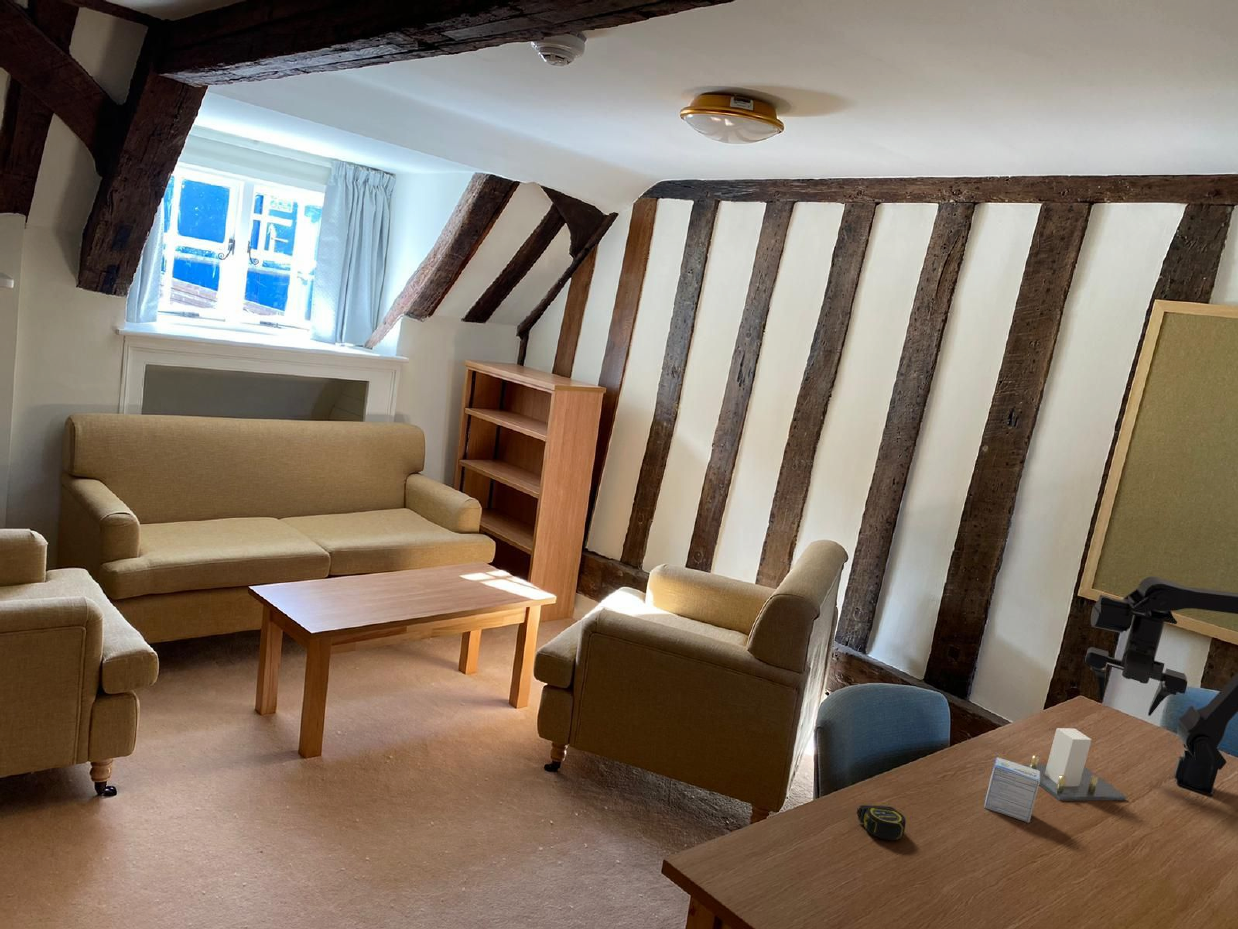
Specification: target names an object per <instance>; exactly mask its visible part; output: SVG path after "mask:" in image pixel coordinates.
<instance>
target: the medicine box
mask: <svg viewBox="0 0 1238 929" xmlns="http://www.w3.org/2000/svg"><path fill="white" fill-rule="evenodd" d="M1023 765H1024V764H1020V763H1017V762H1013V761H1011V760H1008V759H1004V758H1001V757H999V756H998V757H995V760H994V765H993V768H992V772H991V776H990V779H989V783H988V789H987V792H986V795H985V796H986V797H985V801H984V806H983V808H984V809H988V810H990V811H992V812H995V813H999V814H1002V815H1004V816H1008V817H1011V818H1014V819H1018V820H1020V821H1023V822H1026V823H1030V822H1031V817H1032V813H1033V810H1034V805H1035V802H1036V798H1037V793H1038V790H1039V786H1040V785H1039V784H1040V771H1039V770H1035V769H1032V768H1029V767H1026V766H1023Z"/></svg>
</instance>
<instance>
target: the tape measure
mask: <svg viewBox="0 0 1238 929" xmlns="http://www.w3.org/2000/svg"><path fill="white" fill-rule="evenodd" d="M856 814H857V819H858V821H859V822H860V823H861V824H863V826H864V828H865V830H866V831H867V832H868V833H870V834H871V835H872V836H874V837H877V838H879V839H883V840H886V841H887V840H888V841H896V840H900V839H902V837H903V835H904V832H905V829H906V824H907V823H906V822H907V821H906V817H905V816H904V815H903V814H902V813H901V812H900V811H898V810H897V809H896V808H894V807H892V806H886V805H868V804H867V805H866V804H864V805H860V806H859V807H857V809H856Z"/></svg>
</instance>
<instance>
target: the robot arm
mask: <svg viewBox="0 0 1238 929" xmlns="http://www.w3.org/2000/svg"><path fill="white" fill-rule="evenodd" d="M1187 609H1189V610H1190V609H1195V610H1203V611H1210V612H1219V613H1226V614H1235V615H1238V592H1233V591H1223V590H1215V589H1209V588H1208V589H1207V588H1200V587H1199V588H1198V587H1190V586H1186V585H1183V584H1180V583H1178V582H1176V581H1172V580H1168V579H1165V578H1162V577H1158V576H1148V577H1146V578H1144V579H1142V580H1141V581H1140V582H1139V584H1138V586H1137V588H1135V589H1134V590H1133V591H1131V592H1130V593H1129V594H1127V595H1126V596H1125V597H1123V599H1119V598H1113V597H1110V596H1108V595H1104V594H1100V595H1099V597H1098V599H1097V600H1096V602H1095V603H1094V605H1093V606H1092V609H1091V612H1090V613H1091V614H1090V625H1091V627H1092V628H1098V629H1102V630H1107V631H1112V632H1116V633H1118V634H1119V633H1120V634H1122V633H1123V632H1127V631H1128V630H1129V631H1128V635H1127V638H1126V643H1125V646H1124V650H1123V653H1122V656H1121V657H1122V658H1121V659H1118V658H1115V657H1112V656H1111V657H1110V656H1109V651H1107V650H1104V649H1101V648H1096V647H1095V646H1091V647H1089V648H1087V651H1086V656H1085V659H1084V665H1086V666H1088V667H1090V671H1093V672H1095V675H1096V679H1097V685H1098V695H1099V696H1098V697H1099V701H1100V702H1102V701H1103V698H1104V693H1105V692H1104V691H1105V683H1106V675H1107V666H1108V667H1111V668H1113V669H1114V668H1115V669H1117V670H1120V671H1122V673H1121V675H1122V677H1123V678H1125V679H1127V680H1132V681H1137V682H1139V683H1141V684H1144V685H1147V684H1148V683H1149V682H1150V679H1152V680H1154V681H1157V682H1159V683H1158V686H1157V687H1156V688H1157V689H1156V690H1155V693H1154V696H1153V698H1152V701H1151V703H1150V705H1149V708H1148V712H1147V715H1148V716H1149V717H1151V716H1152V714H1153V713H1154V712H1155V710H1156V709H1157V708H1158V707H1159V706H1160V704H1161V703H1162V702H1163V701H1164V700H1165V699H1166V698H1167V697H1169V696H1170V695H1173V696H1177V694H1178V693H1179V694H1186V691H1187V687H1188V677H1187V675H1186V674H1185V673H1183V672H1180V671H1177V670H1173V669H1169V668H1168V667H1167V668H1164V667H1165V663H1164V662H1162V661H1158V660H1155V659H1156V655H1157V652H1158V648H1159V646H1160V641H1161V637H1162V635H1163V631H1164V628H1165V624H1166V623H1167V624H1172V625H1173V624H1174V625H1177V623H1178V621H1177V619H1176V618H1175V617H1174V615H1173V614H1172V611H1173V612H1174V611H1175V612H1176V611H1182V610H1187ZM1164 669H1165V670H1164ZM1237 714H1238V671H1237V672H1236V673H1235V674H1234V675H1233V676H1232V677H1231V679H1230V680H1229V681H1228V682H1226V685H1224V686H1223V687H1222V689H1221V690H1220V691H1219V692H1218V693H1217V694H1216V695H1215V696H1214V697H1213V698H1212V699H1211V700H1210V702H1209V703H1208V704H1206V705H1205V706H1204V707H1201V708H1199V709H1197V708H1195V707H1194V706H1193V705H1190V706H1189V707H1188V708H1187V710H1186V712H1185V713H1184V714H1183V715H1182V716H1179V717H1178V718H1177V720H1178V721H1179V722H1178V723H1177V725H1176V731H1177V735H1178V737H1179V739H1180V740H1181V741H1182V746H1183V747H1184V748H1185V750H1184V751H1183V754H1182V756H1181V755H1180V756H1178V760H1177V761H1176V762H1177V763H1176V766H1175V770H1174V778H1175V780H1176V785H1177V786H1181V787H1182V788H1186V789H1188V790H1192V791H1195V792H1196V793H1197V792H1198V793H1201V794H1202V795H1203V794H1204V795H1207V796H1210V797H1213V795H1214V792H1213V789H1214V785H1215V782H1216V778H1217V775H1218V772H1219V770H1222V769H1223V768H1224V766H1225V765H1226V764H1227V761H1226V759H1225V757H1224V756H1223V755H1222V753H1221V751H1220V750H1219V749H1218V747H1219V745H1220V744H1221V743H1222V741H1223V740H1224V737H1225V733H1226V730H1227V727H1228V724H1229V723H1230V721H1231V720H1232V719H1233V718H1234V717H1235V715H1237Z"/></svg>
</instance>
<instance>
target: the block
mask: <svg viewBox="0 0 1238 929" xmlns="http://www.w3.org/2000/svg"><path fill="white" fill-rule="evenodd" d="M1091 743H1092V738H1090V737H1088V736H1087V735H1085V734H1084V733H1082V732H1081V731H1080V730H1078V729H1076V728H1067V727H1066V728H1063V727H1062V728H1061V727H1057V728H1056V730H1055V733H1054V737H1053V741H1052V745H1051V748H1050V752H1049V756H1048V760H1047V763H1046V765H1047V767H1046V771H1045V775H1046V776H1047V777H1049V778H1050V779H1051V780H1053V781H1054V782H1055V783H1057V784H1058V781H1059V777H1060V775H1064V776H1066V777H1067V778H1066V782H1065V785H1064V786H1079V784H1080V780H1081V777H1082V773H1083V769H1084V767H1086V766H1085V765H1086V761H1087V758H1088V754H1089V750H1090V747H1091Z"/></svg>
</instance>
